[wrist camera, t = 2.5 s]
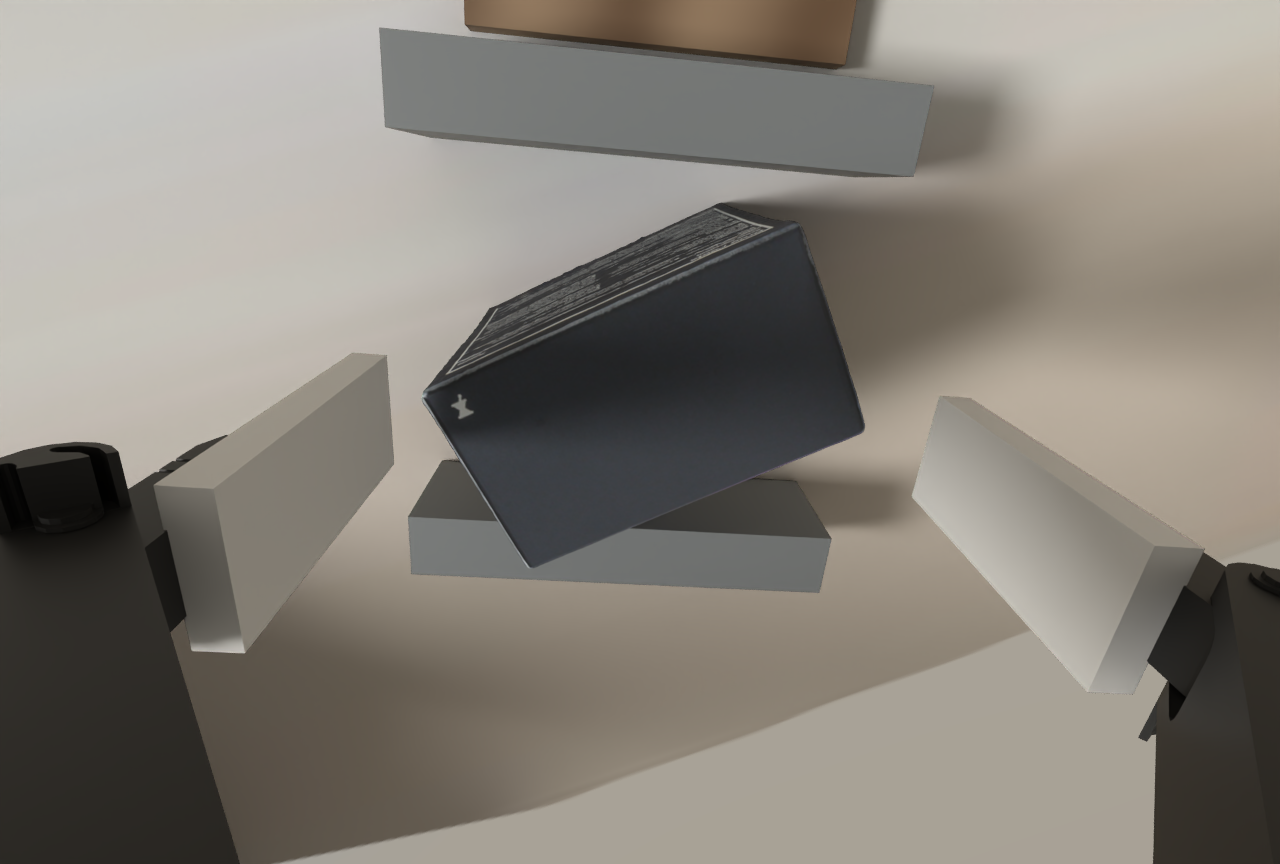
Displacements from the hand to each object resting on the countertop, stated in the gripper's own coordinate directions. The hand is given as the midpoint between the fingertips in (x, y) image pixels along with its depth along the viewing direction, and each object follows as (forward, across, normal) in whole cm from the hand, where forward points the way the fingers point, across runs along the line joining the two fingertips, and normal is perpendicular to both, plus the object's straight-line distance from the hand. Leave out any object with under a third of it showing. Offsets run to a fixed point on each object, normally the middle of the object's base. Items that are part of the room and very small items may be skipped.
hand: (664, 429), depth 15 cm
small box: (+12, 0, 0) cm, 12 cm away
